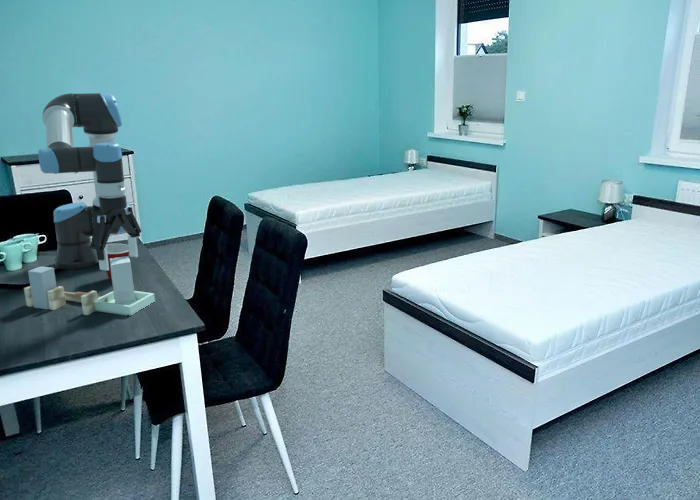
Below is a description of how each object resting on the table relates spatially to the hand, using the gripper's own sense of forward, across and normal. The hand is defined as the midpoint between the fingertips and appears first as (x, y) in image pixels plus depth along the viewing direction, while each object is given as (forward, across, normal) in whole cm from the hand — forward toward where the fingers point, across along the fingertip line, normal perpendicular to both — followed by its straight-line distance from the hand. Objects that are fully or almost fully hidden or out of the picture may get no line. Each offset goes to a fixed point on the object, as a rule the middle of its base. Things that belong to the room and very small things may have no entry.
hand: (119, 263), depth 172 cm
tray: (+14, 0, 0) cm, 14 cm away
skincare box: (+14, 0, -1) cm, 14 cm away
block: (+14, -8, +23) cm, 28 cm away
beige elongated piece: (+14, -5, +17) cm, 23 cm away
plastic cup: (+15, +20, +19) cm, 31 cm away
